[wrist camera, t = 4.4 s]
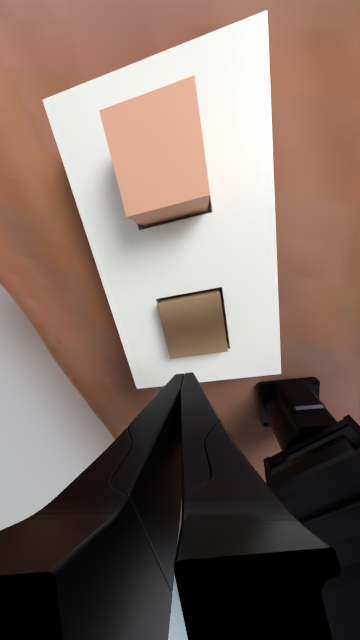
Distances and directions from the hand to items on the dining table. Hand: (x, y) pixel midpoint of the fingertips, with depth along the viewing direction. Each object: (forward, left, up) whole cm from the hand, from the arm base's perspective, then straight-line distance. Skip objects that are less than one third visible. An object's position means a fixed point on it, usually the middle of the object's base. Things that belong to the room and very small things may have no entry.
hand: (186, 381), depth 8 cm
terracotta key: (+11, 0, -9) cm, 14 cm away
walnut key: (0, 0, -11) cm, 11 cm away
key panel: (+5, 0, -12) cm, 13 cm away
